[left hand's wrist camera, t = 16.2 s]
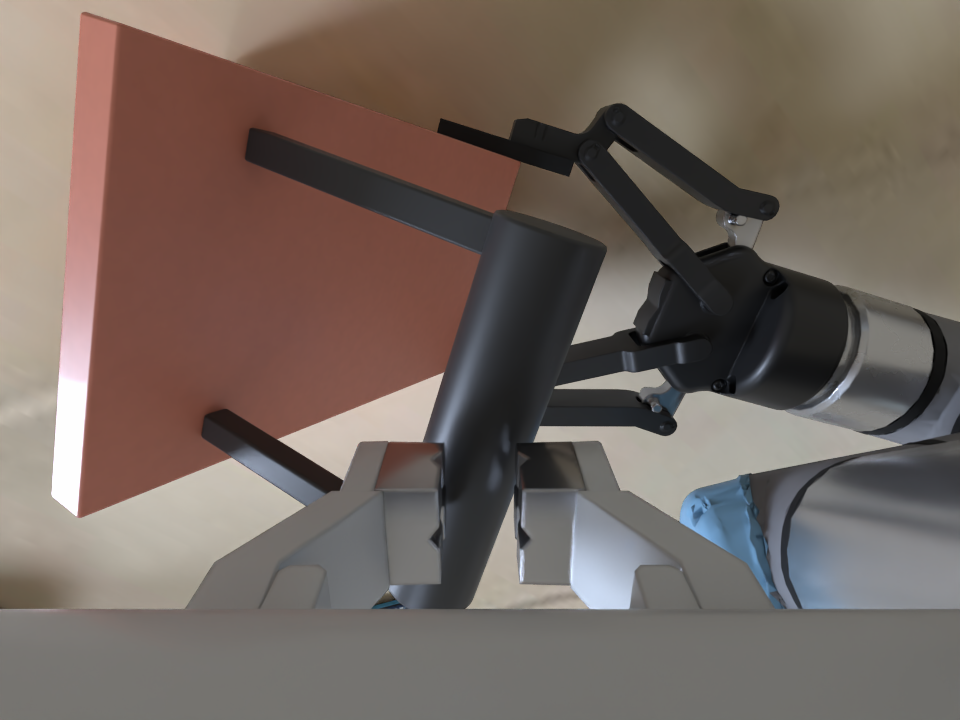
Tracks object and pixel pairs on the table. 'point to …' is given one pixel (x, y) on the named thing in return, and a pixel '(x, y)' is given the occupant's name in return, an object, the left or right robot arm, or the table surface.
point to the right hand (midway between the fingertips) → (413, 234)
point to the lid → (294, 288)
